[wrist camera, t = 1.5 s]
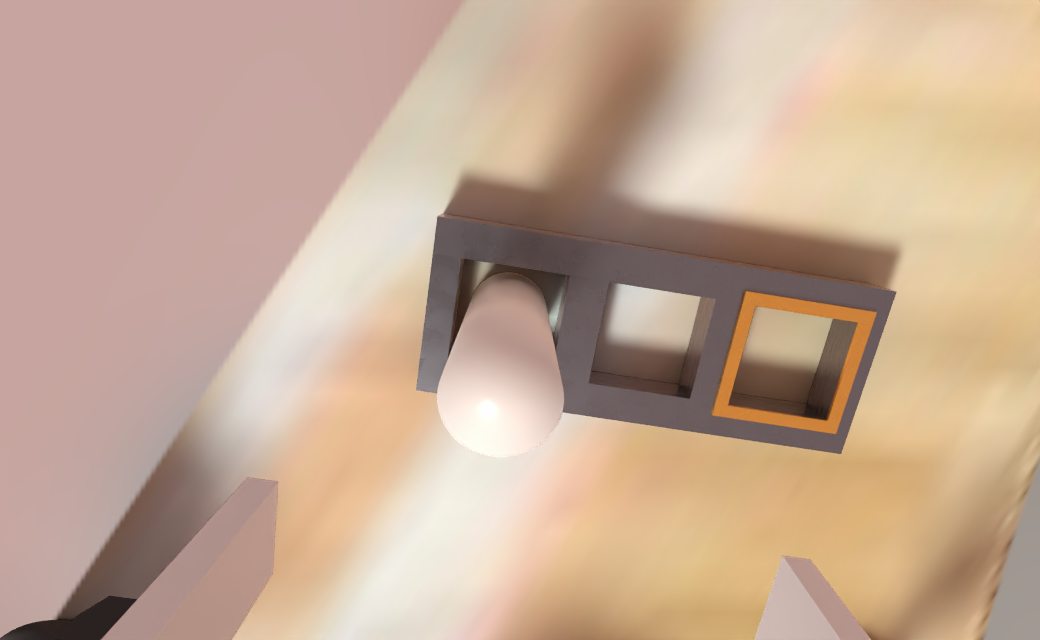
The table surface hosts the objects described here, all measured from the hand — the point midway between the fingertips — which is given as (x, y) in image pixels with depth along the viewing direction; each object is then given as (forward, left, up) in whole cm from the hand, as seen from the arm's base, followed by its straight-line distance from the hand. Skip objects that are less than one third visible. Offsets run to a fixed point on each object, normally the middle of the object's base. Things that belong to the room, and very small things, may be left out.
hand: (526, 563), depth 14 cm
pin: (-1, +1, -23) cm, 23 cm away
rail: (+8, +1, -23) cm, 24 cm away
